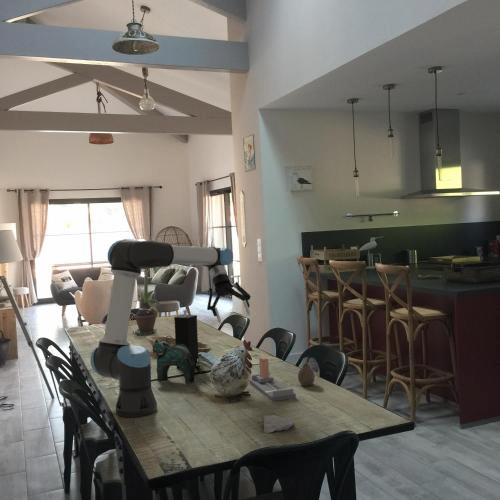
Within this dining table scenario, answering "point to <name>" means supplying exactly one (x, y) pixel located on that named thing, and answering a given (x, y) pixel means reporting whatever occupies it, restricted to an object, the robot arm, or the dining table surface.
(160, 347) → the teal animal figurine
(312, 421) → the dining table surface
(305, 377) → the vase
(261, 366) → the fader knob
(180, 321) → the black rectangular column
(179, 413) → the dining table surface
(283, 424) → the stone
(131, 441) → the dining table surface
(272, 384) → the console board
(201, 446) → the dining table surface
